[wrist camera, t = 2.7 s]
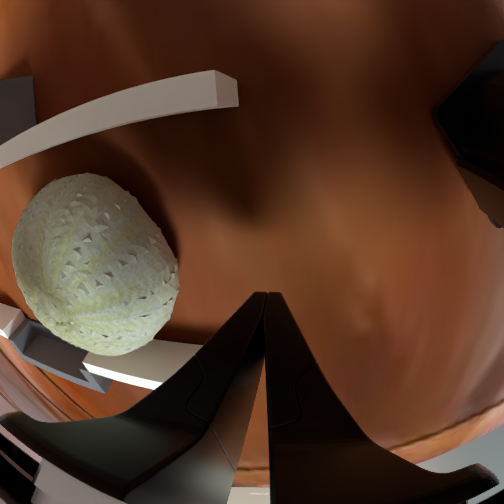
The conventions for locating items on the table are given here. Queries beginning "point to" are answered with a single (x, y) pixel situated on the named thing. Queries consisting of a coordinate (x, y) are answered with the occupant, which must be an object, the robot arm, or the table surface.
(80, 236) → the sea urchin shell
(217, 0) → the table surface
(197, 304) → the table surface
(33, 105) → the trap lane
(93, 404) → the table surface
